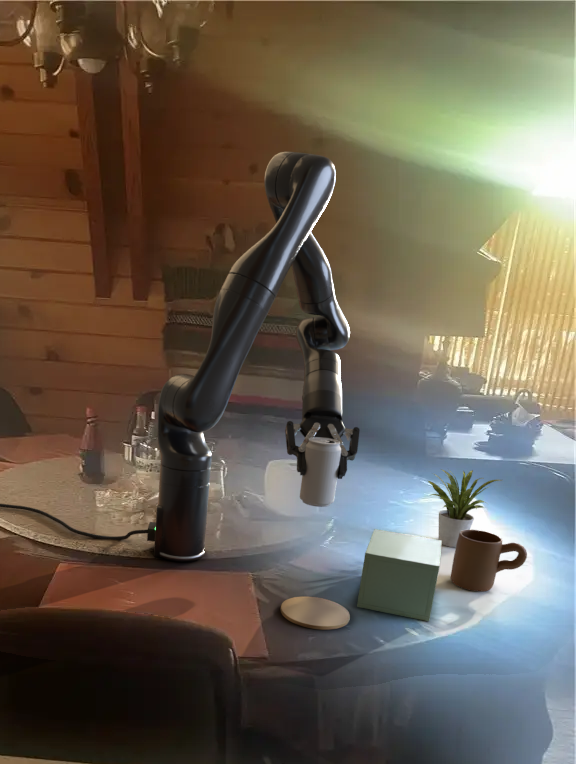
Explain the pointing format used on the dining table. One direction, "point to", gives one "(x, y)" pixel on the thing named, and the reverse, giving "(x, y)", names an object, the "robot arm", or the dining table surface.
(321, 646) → the dining table surface
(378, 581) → the cabinet
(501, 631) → the dining table surface
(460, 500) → the house plant
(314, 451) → the beverage can
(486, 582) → the mug
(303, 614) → the coaster
